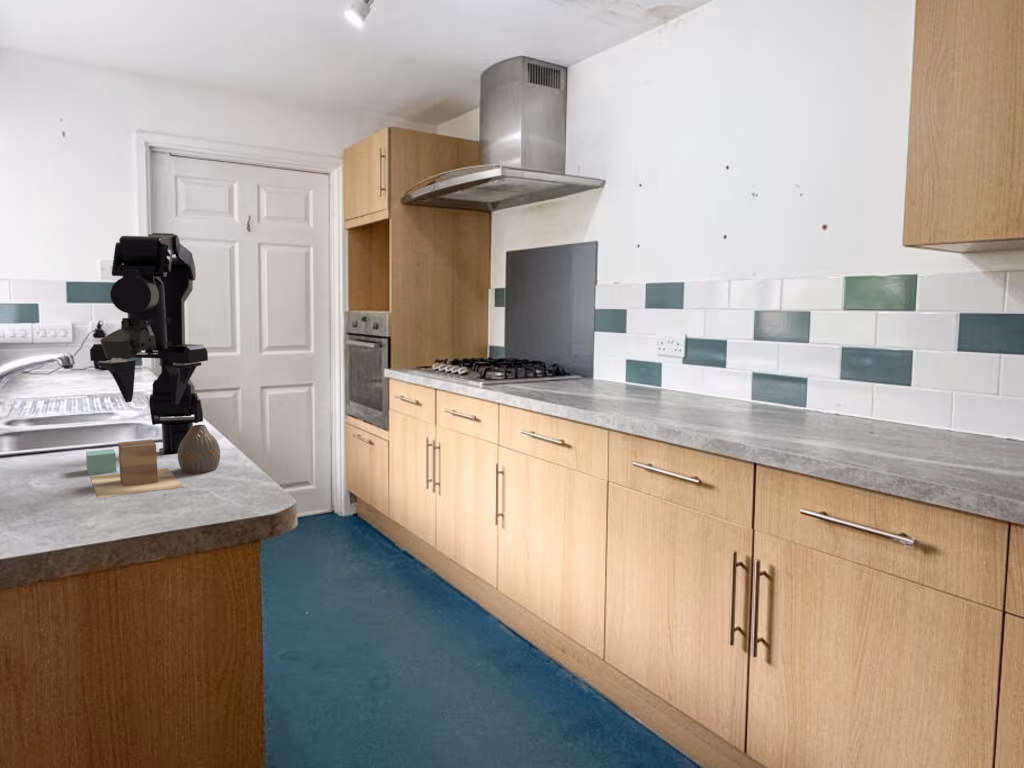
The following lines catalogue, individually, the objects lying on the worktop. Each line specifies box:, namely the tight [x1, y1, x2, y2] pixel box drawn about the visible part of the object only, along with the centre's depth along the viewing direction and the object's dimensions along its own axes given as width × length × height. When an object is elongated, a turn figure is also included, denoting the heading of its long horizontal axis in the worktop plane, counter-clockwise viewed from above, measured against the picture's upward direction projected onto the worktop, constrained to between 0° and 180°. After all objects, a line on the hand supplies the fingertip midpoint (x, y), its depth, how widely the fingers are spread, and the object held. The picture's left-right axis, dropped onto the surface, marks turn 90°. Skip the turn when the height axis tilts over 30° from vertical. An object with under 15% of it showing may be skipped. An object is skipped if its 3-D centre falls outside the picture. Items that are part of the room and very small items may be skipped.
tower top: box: [117, 438, 158, 467], centre depth 116 cm, size 5×5×3 cm
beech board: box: [90, 467, 185, 500], centre depth 117 cm, size 16×12×1 cm
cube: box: [85, 448, 118, 476], centre depth 124 cm, size 4×4×4 cm
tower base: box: [118, 461, 158, 487], centre depth 117 cm, size 5×5×3 cm
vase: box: [177, 424, 221, 475], centre depth 125 cm, size 7×7×9 cm
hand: (152, 403), depth 121 cm, fingers open, 9 cm apart
